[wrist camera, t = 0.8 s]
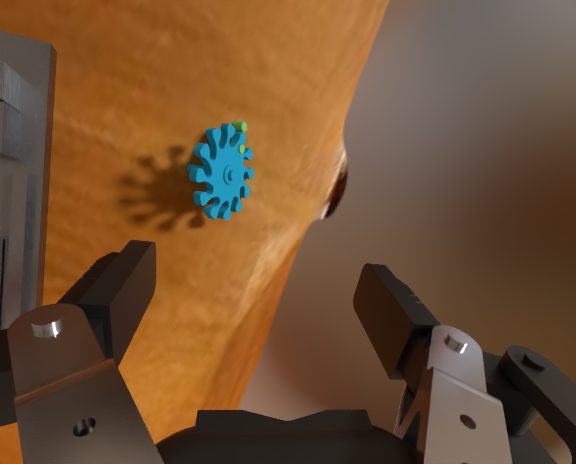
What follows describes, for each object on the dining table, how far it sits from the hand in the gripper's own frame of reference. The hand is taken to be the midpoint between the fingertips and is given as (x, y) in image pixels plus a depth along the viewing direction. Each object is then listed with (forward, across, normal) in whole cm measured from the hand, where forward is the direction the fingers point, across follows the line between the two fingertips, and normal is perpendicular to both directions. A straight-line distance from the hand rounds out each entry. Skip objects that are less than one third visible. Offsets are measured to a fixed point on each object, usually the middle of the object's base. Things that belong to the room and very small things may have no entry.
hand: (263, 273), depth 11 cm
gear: (+25, +4, +2) cm, 26 cm away
